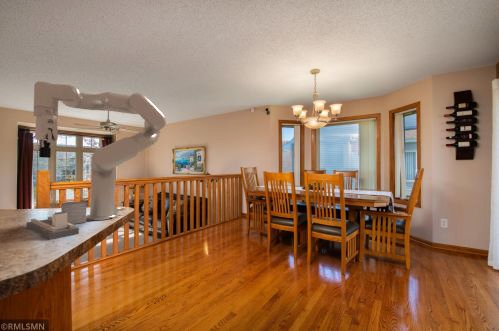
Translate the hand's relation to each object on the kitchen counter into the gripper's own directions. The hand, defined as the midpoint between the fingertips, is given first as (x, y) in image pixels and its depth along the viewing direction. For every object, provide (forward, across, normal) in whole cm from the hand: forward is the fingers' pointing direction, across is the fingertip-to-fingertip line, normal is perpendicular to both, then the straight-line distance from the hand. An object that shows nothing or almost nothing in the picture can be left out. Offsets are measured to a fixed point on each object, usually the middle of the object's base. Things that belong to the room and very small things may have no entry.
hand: (44, 157), depth 94 cm
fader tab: (+25, -23, +2) cm, 34 cm away
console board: (+27, -16, +2) cm, 32 cm away
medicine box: (+27, -10, -7) cm, 30 cm away
